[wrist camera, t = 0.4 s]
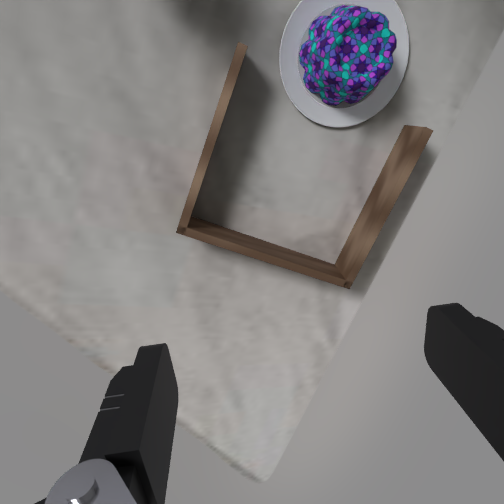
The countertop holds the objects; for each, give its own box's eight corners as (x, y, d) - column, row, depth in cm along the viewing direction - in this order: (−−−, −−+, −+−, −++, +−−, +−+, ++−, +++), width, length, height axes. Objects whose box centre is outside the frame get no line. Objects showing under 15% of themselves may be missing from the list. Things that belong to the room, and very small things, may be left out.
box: (236, 49, 32) (238, 41, 28) (411, 128, 36) (433, 130, 32) (180, 220, 37) (176, 232, 34) (337, 272, 41) (349, 289, 37)
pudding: (350, -56, 30) (375, -87, 25) (430, 57, 34) (465, 49, 29) (250, 59, 33) (256, 51, 28) (335, 152, 36) (353, 160, 32)
